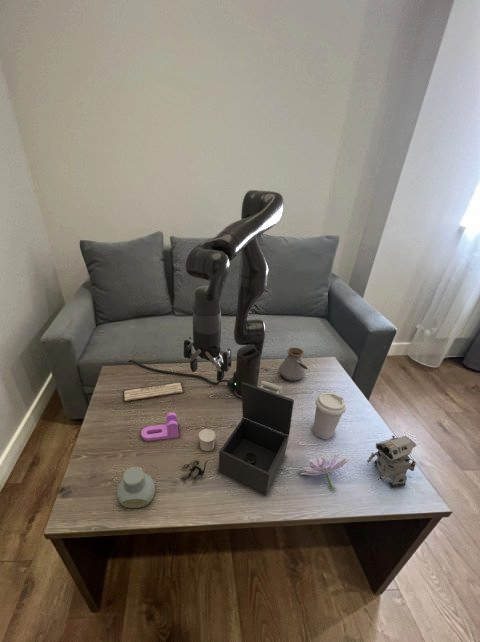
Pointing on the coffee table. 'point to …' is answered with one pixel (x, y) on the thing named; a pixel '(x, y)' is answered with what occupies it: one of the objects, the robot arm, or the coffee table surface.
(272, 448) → the open lidded box
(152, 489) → the air freshener
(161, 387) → the wooden plank
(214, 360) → the robot arm
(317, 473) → the water lily
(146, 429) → the bracket
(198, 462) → the creature
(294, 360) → the coffee pot
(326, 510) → the coffee table surface
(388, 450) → the figurine
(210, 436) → the coffee pod
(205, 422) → the coffee table surface
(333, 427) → the coffee cup
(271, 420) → the lid
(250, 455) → the cylinder
